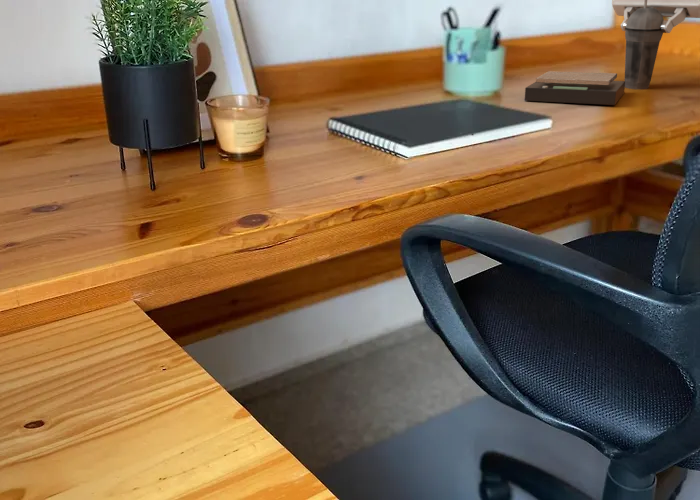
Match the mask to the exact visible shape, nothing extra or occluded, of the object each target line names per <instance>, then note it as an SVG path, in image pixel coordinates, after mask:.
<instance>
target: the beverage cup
mask: <svg viewBox="0 0 700 500" xmlns="http://www.w3.org/2000/svg"><path fill="white" fill-rule="evenodd" d="M664 20H665V19H664V17H663V16H662V14H661V13H660V12H659V11H658V10H657V9H655V8H652V7H647V0H644V7H642V8H639V9H637V10H636V11H635V12H633V13H632V14H631V16H630V17H629V19H628V21H627V23H626V27H625V31H624V37H625V55H624V56H625V58H624V61H625V62H624V80H623V81H625V89H629V90H647V89H649V88H650V84H651V81H652V78H653V73H654V68H655V65H656V64H655V63H656V61H657V55H658V51H659V46H660V43H661V40H662V38H663V35H664V33H662V32H661V30H660V25H661V24H662V22H663V21H664Z"/></svg>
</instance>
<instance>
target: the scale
mask: <svg viewBox="0 0 700 500" xmlns="http://www.w3.org/2000/svg"><path fill="white" fill-rule="evenodd" d="M524 89H525V90H524V101H525V102H544V103H565V104H566V103H567V104H582V105H583V104H584V105H585V104H587V105H605V106H606V105H607V106H615V105H616V104H617V103H618V102H619V100H620V99H621V98H622V97H623V96H624V94H625V91H626V90H625V89H626V88H625V80H614V81H613V82H611V83H610V84H609V85H589V84H563V83H537V82H536V81H534V82H533V83H531V84H530V85H529V84H528V86H526V87H525V88H524Z"/></svg>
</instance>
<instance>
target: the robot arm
mask: <svg viewBox="0 0 700 500" xmlns="http://www.w3.org/2000/svg"><path fill="white" fill-rule="evenodd" d="M611 5H612V8H613V10H614V12H615V14H616V15H617V16H618V17H623V20H622V22H621V23H620V29H621V31H622V32H625V27H626V23H627V21H628V19H629V17H630V16H631V14H632V13H633V12H635V11H636V10H637V9H639V8H642V7H644V0H611ZM647 7H652V8H655V9H657V10H658V11H659V12H660V13H661V14H662V16H663V18H668V19H667V20H666V19H664V21H663V22H662V24H661V25H660V30H661V32H662V33H663V34H670V33H671V32H672V30H673V29H674V28H675V27H677V26H678V25H680V24H682V23H683V22H684V21H685V19H686V18H688V19H689V18H690V19H700V0H647Z"/></svg>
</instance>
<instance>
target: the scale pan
mask: <svg viewBox="0 0 700 500" xmlns="http://www.w3.org/2000/svg"><path fill="white" fill-rule="evenodd" d="M617 77H618V73H615V72H588V71H587V72H585V71H557V70H555V71H553V70H548V71H547V72H545V73H543V74H541V75H539V76H537V77H536V78H535V82H537V83H563V84H589V85H609V84H610V83H611V82H613V81H616V79H617Z"/></svg>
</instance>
